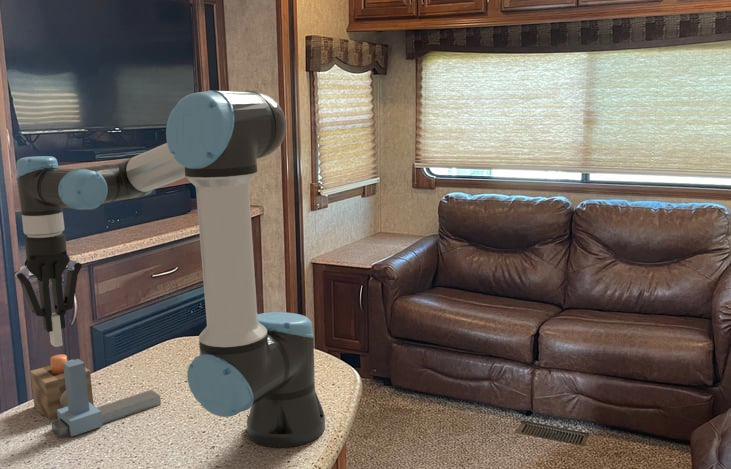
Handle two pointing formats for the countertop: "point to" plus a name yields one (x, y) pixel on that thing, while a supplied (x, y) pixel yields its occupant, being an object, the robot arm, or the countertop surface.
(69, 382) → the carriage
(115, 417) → the rail
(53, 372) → the orange rounded cylinder
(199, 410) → the countertop surface
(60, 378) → the wooden box
